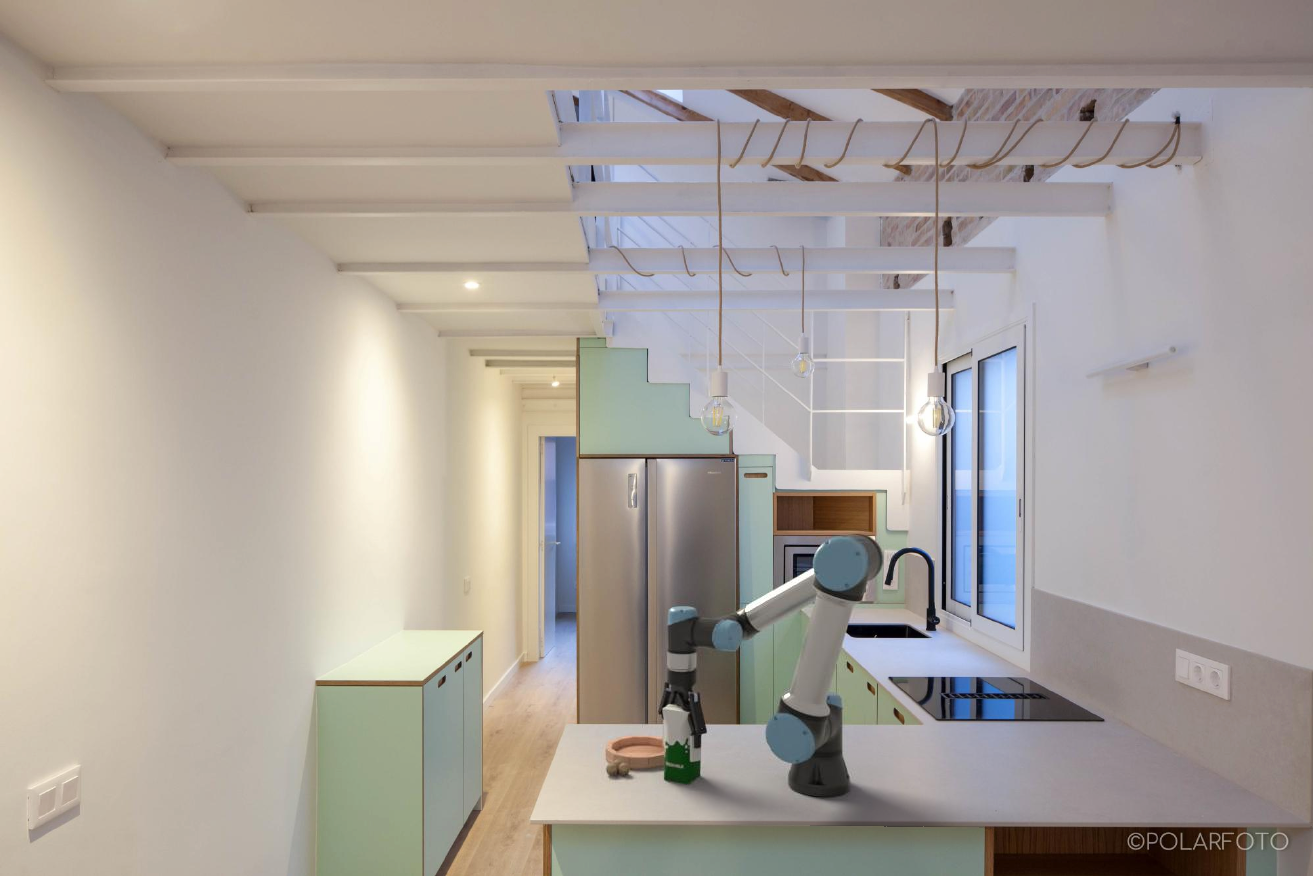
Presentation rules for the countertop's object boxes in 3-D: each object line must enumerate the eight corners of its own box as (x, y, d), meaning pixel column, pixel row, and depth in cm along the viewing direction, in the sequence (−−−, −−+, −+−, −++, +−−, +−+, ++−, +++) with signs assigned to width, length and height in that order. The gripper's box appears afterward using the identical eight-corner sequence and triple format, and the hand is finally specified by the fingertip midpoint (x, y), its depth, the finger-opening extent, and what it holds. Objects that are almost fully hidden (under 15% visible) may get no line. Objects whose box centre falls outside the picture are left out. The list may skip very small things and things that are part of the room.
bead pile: (631, 775, 211) (631, 764, 211) (611, 779, 209) (611, 767, 209) (621, 768, 217) (621, 757, 217) (601, 772, 214) (601, 760, 214)
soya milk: (705, 775, 212) (704, 696, 213) (690, 787, 204) (689, 704, 205) (674, 769, 216) (674, 692, 217) (658, 780, 208) (658, 700, 209)
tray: (687, 761, 222) (687, 750, 222) (624, 774, 213) (624, 762, 213) (653, 742, 238) (653, 731, 239) (594, 752, 229) (594, 741, 229)
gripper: (721, 677, 202) (720, 765, 201) (670, 657, 224) (669, 736, 223) (695, 680, 198) (694, 770, 198) (645, 660, 220) (645, 740, 219)
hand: (681, 752), depth 210 cm, fingers open, 13 cm apart
